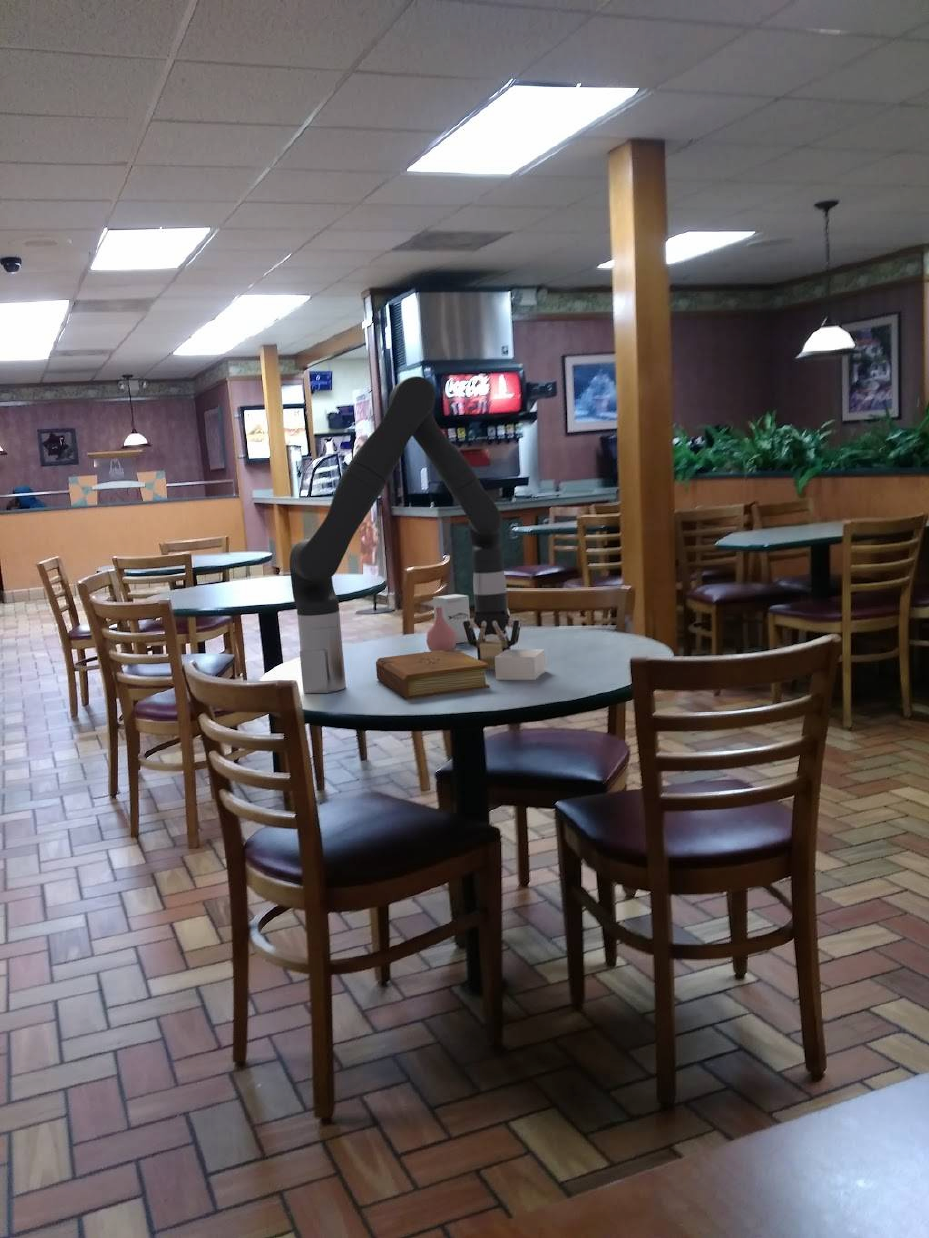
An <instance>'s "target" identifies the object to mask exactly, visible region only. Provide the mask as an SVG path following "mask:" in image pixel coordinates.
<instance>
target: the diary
mask: <svg viewBox="0 0 929 1238" xmlns="http://www.w3.org/2000/svg"><path fill="white" fill-rule="evenodd" d="M486 668H488V664H487V663H485V662H483V661H480V660H478V658H475V657H473V656H471V655H469V654H467V653H465V652H463V651H460V650H457V649H456V648H455V649H446V650H438V651H430V650H429V651H424V652H416V653H408V654H402V655H401V654H400V655H395V656H394V655H392V656H385V657H379V658H377V660H376V662H375V670H376V671H375V672H376V679H377V680H378V681H379V682H381V683H382V684H383V685H385V686H387V687H388V688H390V689H391V690H393V691H394V692H396V693H397V694H398V693H399V694H398V695H400V696H401V695H402V696H401V697H403V698H404V699H406V700H415V699H420V697H422V698H427V697H428V698H429V697H435V696H441V695H449V694H455V693H460V692H461V693H462V692H469V691H477V690H483V689H489V688H491V687H490V686H491V685H490V684H488V683H487V681H486V679H487V678H486V670H487V669H486ZM434 695H435V696H434ZM414 698H415V699H414Z"/></svg>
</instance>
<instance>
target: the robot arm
mask: <svg viewBox="0 0 929 1238" xmlns="http://www.w3.org/2000/svg"><path fill="white" fill-rule="evenodd" d="M434 388H435V387H434V386H433V384H432V383H431V381H430V380H428V379H427V378H426V377H423V376H418V375H417V376H416V375H414V376H409V377H406V378H404V379H402V380H401V381H400V382H398V383H397V384H396V385H395V386H394V387H393V388H392V390H391V392H390V394H389V396H388V404H389V405H388V408H387V410H386V412H385V414H384V416H383V417H382V419H381V420H380V422H379V424H378V426H377V427H376V428H375V430H374V431H373V432H372V433H371V434H370V435H369V436H368V438H367V439H365V441H364V442H363V444H362V445H361V446H360V447H359V449H358V450H357V451H356V452H355V454H354V456H352V459H351V460H350V461H349V463H348V465H347V466H346V468H345V469H344V472H343V473H342V474H341V476H340V478H339V480H338V483H337V485H336V488H335V490H334V493H333V497H332V500H331V503H330V506H329V509H328V513H327V515H326V516H325V518H324V520H323V522H322V523H321V524H320V526H319V527H318V529H317V530H316V531H315V533H314V534H313V535H312V536H311V538H306V539H303V540H301V541H299V542H297V543H296V544H295V545H294V546H293V547H292V549H291V552H290V555H289V573H290V583H291V589H292V596H293V601H294V603H295V607H296V615H297V623H298V624H297V627H298V638H299V647H300V651H299V661H300V670H301V681H302V690H303V691H302V692H303V694H330V693H333V692H338V691H340V690H341V691H342V690H343V689H345V688H346V687H347V681H346V671H345V670H346V669H345V661H344V650H343V637H342V627H341V626H342V625H341V623H342V622H341V616H340V615H341V613H340V602H339V599H338V596H337V595H336V592H335V589H334V584H333V582H334V581H333V576H334V575H335V574H336V573H337V571H338V570H339V567H340V566H341V563H342V561H343V558H344V556H345V555H346V552H347V549H348V547H349V546H350V544H351V541H352V539H353V538H354V535H355V534H356V532H357V530H358V529H359V528H360V526H361V524H362V523H363V522H364V521H365V519H366V517H367V515H369V512H370V511H371V509H372V508H373V506H374V504H375V503H376V502H377V500H378V498H380V495H381V493H382V492H383V490H384V488H385V487H386V485H387V484H388V482H389V480H390V478H391V476H392V474H393V472H394V470H395V469H396V466H398V465H397V464H398V462H399V461H400V459H401V457H402V455H403V452H404V451H405V449H406V446H407V444H409V441H410V439H411V438H413V439H414V440H415V441H416V443H417V444H418V445H419V446H420V448H421V449H422V451H423V452H424V454H425V455H426V457H427V458H428V459H429V461H430V462H431V464H432V465H433V467H434V468H435V471H436V472H437V474H438V475H439V477H440V478H441V480H442V481H443V483H444V485H445V486H446V488H447V489H448V491H449V493H450V494H451V496H452V497H453V499H454V500H455V501H456V502H457V503H458V504H459V505H460V507H461V509H462V510H463V512H464V514H465V515H466V517H467V519H468V528H469V534H470V535H469V536H470V542H471V546H472V566H473V567H472V568H473V579H472V580H473V581H472V584H473V585H472V586H473V599H474V600H473V601H474V613H475V614H474V615H475V616H474V617H473V618H470V620H469V619H468V620H466V621H464V622H463V626H464V629H465V632H466V635H467V639H468V642H467V643H468V644H469V646H472V647H475V648H476V651H477V659H478V660H480V661H481V655H480V643H483V642H484V641H485V640H486V638H487V635H490V634H494V635H498V637H499V639H500V640H501V642H502V645H503V647H504V648H503V651H505V650H511V647H513V646H515V645H516V644H518V642H519V639H520V631H521V627H522V619H521V618H512V617H510V614H509V615H508V611H507V608H508V596H507V589H508V587H507V583H506V576H505V567H504V554H503V550H502V547H501V544H500V542H501V541H500V529H501V528H502V525H503V516H502V513H501V511H500V510H499V508H498V507H497V504H495V502H494V501H493V499H492V497H490V495H489V494H488V493H487V491H486V490H485V488H484V487H483V485H482V483H481V481H480V480H479V478H478V477H477V475H476V473H475V471H474V469H473V467H472V466H471V465H470V463H469V462H468V460H467V459H466V458H465V457H464V455H463V454H462V453H461V451H460V450H459V449H458V447H456V446H455V444H454V443H453V442H451V440H450V439H449V438H448V437H447V436H446V435H445V433H444V432H443V431H442V428H440V426H439V424H438V423H437V421H436V419H435V416H434V414H433V413H432V410H433V409H434V406H435V403H436V391H435V389H434ZM508 624H510V628H511V635H510V638H509V632H508V630H507V631H506V629H505V628H506V626H507V627H508ZM475 625H476V626H477V628H478V629H479V633H478V636H477V637H478V638H477V637H476V633H475V629H474V628H475Z"/></svg>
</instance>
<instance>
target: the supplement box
mask: <svg viewBox="0 0 929 1238" xmlns="http://www.w3.org/2000/svg"><path fill="white" fill-rule="evenodd" d="M469 599H470V598H469V595H466V594H465V595H464V594H460V593H459V594H458V593H455V594H453V593H452V594H446V595H440V596H439V595H438V596H433V597H432V601H433V615H434V616H433V618H434V621H435V620H436V617H437V613H436V607H442V614H443V618H444V619H445V621H446V623H447V624H448V625H449V626H450V627H451V628H452V629H453V630H454V632H455V636H456V644H461V643H463V644H464V643H469V642H468V639H467V635H466V632H465V629H464V626H463V622H464V621H466V620H468V619H469V620H471V617H470V616H471V615H470V614H471V613H470V600H469Z"/></svg>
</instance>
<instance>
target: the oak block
mask: <svg viewBox="0 0 929 1238" xmlns="http://www.w3.org/2000/svg"><path fill="white" fill-rule="evenodd" d="M503 648H504V647H503V645H502V642H501V640H485V641H484V642H483V643H480V655H481V661H483V662H485V663H487V664H488V668H486V669H485V670H495V657H496V656H497V655H499V654H500V653H502V652H503Z"/></svg>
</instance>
